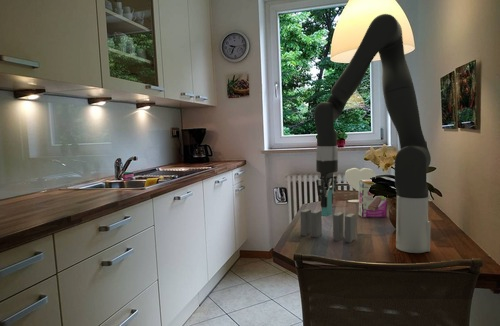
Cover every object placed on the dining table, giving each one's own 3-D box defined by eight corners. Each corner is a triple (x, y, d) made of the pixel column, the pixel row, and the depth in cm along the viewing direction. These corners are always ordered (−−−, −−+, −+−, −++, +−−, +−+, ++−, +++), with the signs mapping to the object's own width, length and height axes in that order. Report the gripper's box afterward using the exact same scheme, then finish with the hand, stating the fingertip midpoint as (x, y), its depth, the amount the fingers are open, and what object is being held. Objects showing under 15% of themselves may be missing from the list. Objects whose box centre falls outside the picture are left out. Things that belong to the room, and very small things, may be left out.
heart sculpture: (374, 200, 198) (374, 167, 196) (375, 202, 193) (375, 168, 191) (345, 200, 201) (345, 167, 199) (345, 201, 196) (345, 168, 194)
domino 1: (300, 235, 135) (300, 211, 134) (306, 232, 139) (306, 208, 138) (305, 235, 134) (305, 212, 133) (311, 232, 138) (311, 209, 137)
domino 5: (344, 241, 126) (344, 216, 125) (349, 238, 130) (349, 213, 129) (350, 242, 124) (350, 216, 124) (355, 239, 129) (355, 214, 128)
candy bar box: (362, 218, 158) (362, 181, 157) (358, 215, 163) (358, 179, 162) (387, 217, 159) (387, 180, 157) (382, 214, 164) (383, 179, 162)
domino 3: (321, 215, 130) (321, 191, 129) (326, 213, 134) (326, 189, 133) (326, 216, 128) (326, 191, 128) (332, 213, 133) (332, 189, 132)
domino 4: (333, 240, 128) (333, 215, 127) (338, 236, 132) (338, 212, 131) (338, 240, 127) (338, 215, 126) (343, 237, 131) (343, 212, 130)
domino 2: (311, 236, 132) (311, 212, 132) (316, 233, 137) (316, 210, 136) (316, 237, 131) (316, 213, 131) (321, 234, 136) (321, 210, 135)
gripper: (324, 157, 137) (324, 201, 139) (308, 160, 125) (309, 208, 127) (343, 157, 133) (343, 203, 135) (329, 160, 121) (329, 210, 123)
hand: (326, 205), depth 131 cm, fingers closed on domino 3, 5 cm apart
